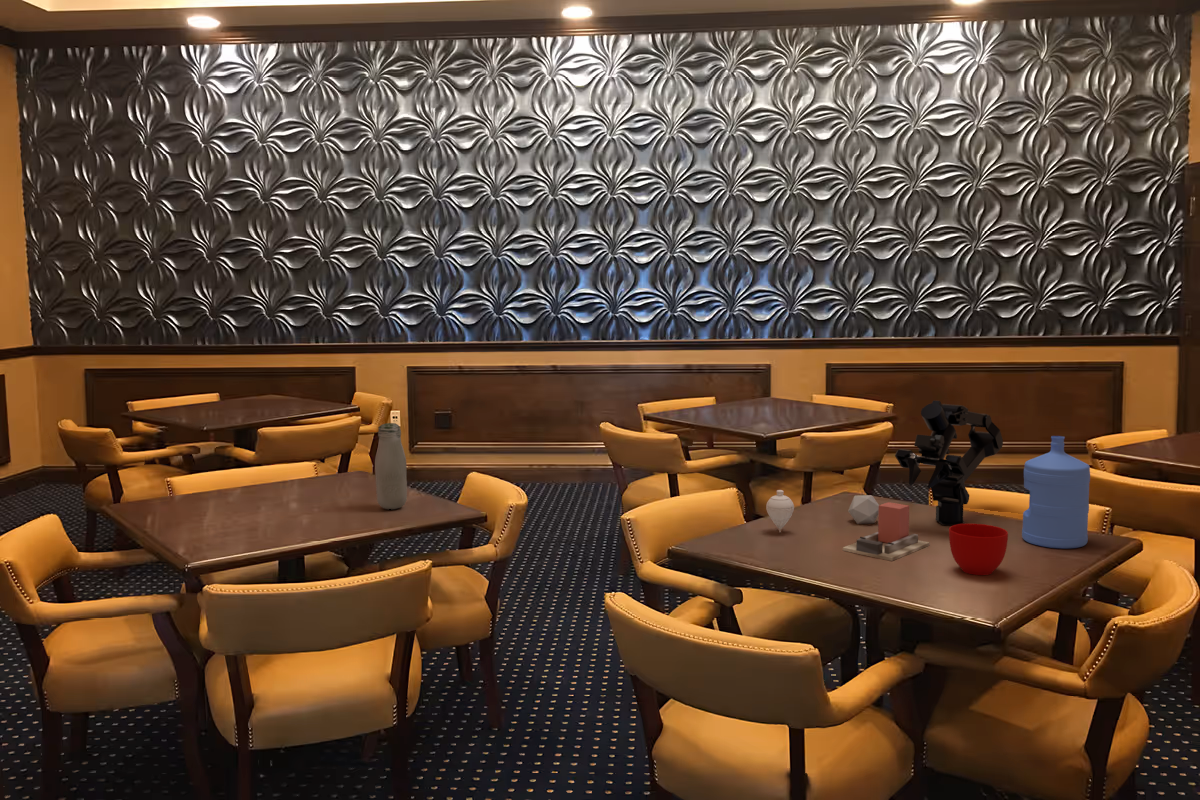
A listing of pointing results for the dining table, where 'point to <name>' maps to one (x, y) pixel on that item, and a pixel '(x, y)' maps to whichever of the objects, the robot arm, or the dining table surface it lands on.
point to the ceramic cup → (978, 547)
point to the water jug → (1056, 499)
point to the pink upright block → (893, 522)
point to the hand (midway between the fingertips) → (919, 486)
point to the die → (864, 509)
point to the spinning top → (780, 509)
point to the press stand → (886, 547)
